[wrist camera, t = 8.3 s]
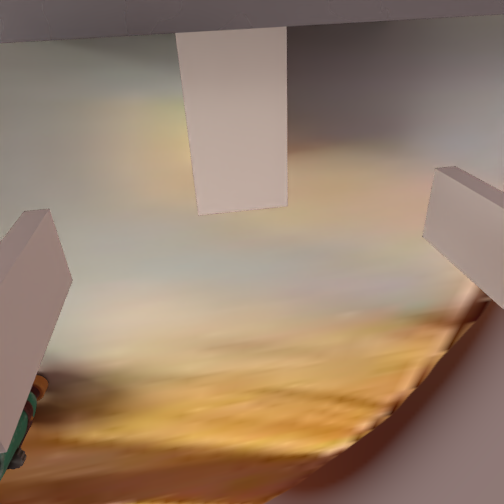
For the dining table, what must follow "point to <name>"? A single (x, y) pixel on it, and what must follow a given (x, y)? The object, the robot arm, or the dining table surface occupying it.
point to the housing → (209, 15)
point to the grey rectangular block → (236, 117)
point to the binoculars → (23, 428)
